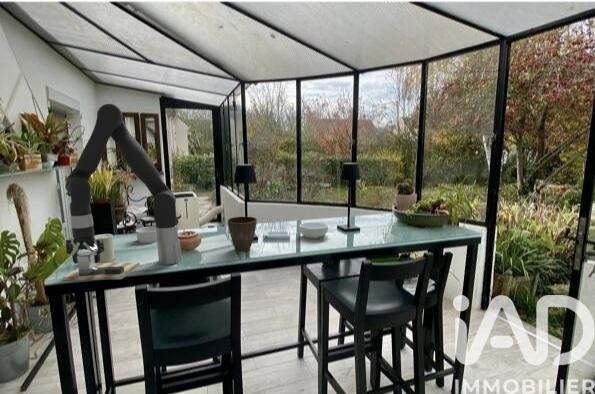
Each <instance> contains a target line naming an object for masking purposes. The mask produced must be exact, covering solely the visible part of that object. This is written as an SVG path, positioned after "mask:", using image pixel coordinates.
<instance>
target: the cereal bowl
mask: <svg viewBox="0 0 595 394" xmlns="http://www.w3.org/2000/svg"><path fill="white" fill-rule="evenodd" d="M328 230H329V225H328V224H326V223H323V222H315V221H314V222H303V223H300V224H299V233H301V235H303V236H304V237H306V238H307V239H311V240H312V239H314V240H315V239H316V240H317V239H320V238H321V237H324V236H326V234H327V233H328Z"/></svg>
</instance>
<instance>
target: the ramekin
mask: <svg viewBox="0 0 595 394" xmlns="http://www.w3.org/2000/svg"><path fill="white" fill-rule="evenodd" d="M135 234H136V238H137V241H138V242H139V243H140V244H152V243H157V233H156V225H155V226H144V227H143V226H142V227H140V228H137V229H136V230H135Z"/></svg>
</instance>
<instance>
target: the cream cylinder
mask: <svg viewBox="0 0 595 394" xmlns="http://www.w3.org/2000/svg"><path fill="white" fill-rule="evenodd" d="M94 238H95V239H100V238H102V239H103V245H104V252H102V253H100V261H99V263H110V262H111V261H113V259H114V260H115V258H116V256H115V250H114V239H113V238H114V237H113V233H112V234H111V233H103V234H95V235H94ZM94 244H95V245H96V246H97V244H96V243H94ZM92 248H93V247H92Z"/></svg>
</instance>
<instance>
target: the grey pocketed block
mask: <svg viewBox="0 0 595 394" xmlns="http://www.w3.org/2000/svg"><path fill="white" fill-rule="evenodd" d="M77 260H78V263H77V266H78V267H77V269H78V268H79V270H90V269H92V268H94V267H95V266H97V265H96V263H95V261H94V254H93V252H91V251H88V252H87V251H86V252H82V253H80V254H78V256H77Z"/></svg>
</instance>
